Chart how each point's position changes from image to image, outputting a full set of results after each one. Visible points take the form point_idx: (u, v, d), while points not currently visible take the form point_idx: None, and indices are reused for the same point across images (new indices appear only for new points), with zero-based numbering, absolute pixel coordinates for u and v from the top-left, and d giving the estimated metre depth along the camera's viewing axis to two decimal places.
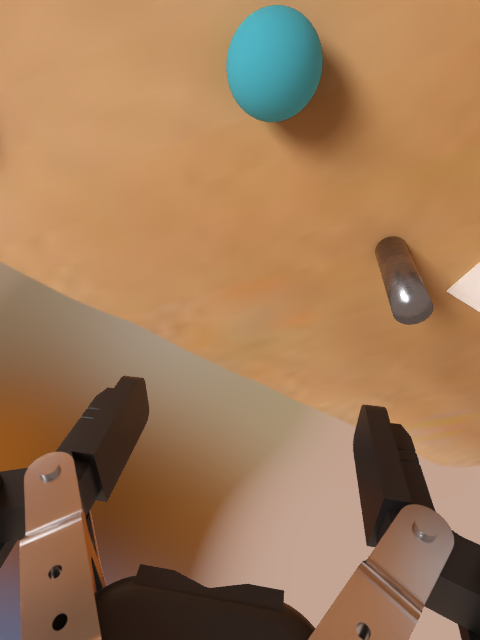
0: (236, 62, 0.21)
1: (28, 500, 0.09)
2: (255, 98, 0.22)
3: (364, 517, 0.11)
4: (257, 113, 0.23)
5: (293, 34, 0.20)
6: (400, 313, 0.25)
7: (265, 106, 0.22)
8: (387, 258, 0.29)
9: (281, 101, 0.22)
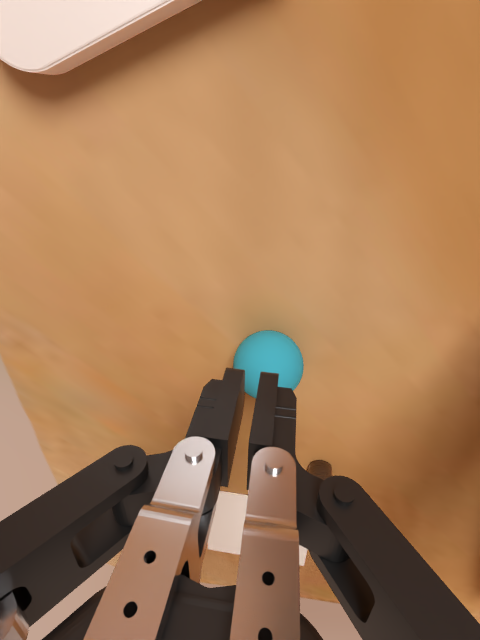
0: (259, 360, 0.28)
1: (167, 471, 0.10)
2: (245, 381, 0.29)
3: None
4: None
5: (290, 386, 0.29)
6: None
7: None
8: None
9: (253, 395, 0.30)
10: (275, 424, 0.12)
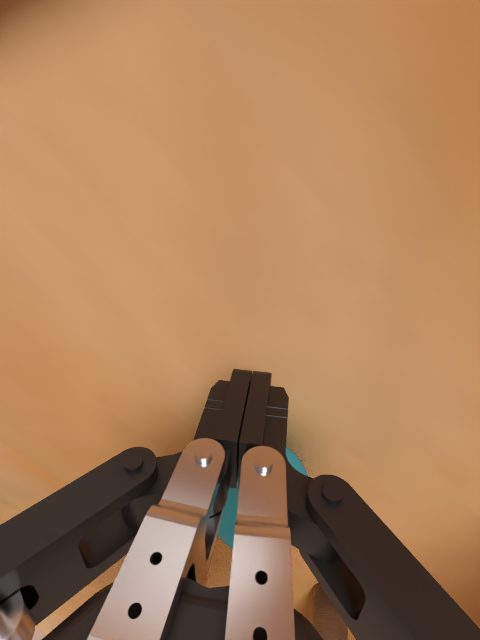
0: None
1: (176, 472, 0.10)
2: (219, 530, 0.18)
3: None
4: None
5: None
6: None
7: None
8: None
9: (231, 547, 0.19)
10: (266, 423, 0.12)
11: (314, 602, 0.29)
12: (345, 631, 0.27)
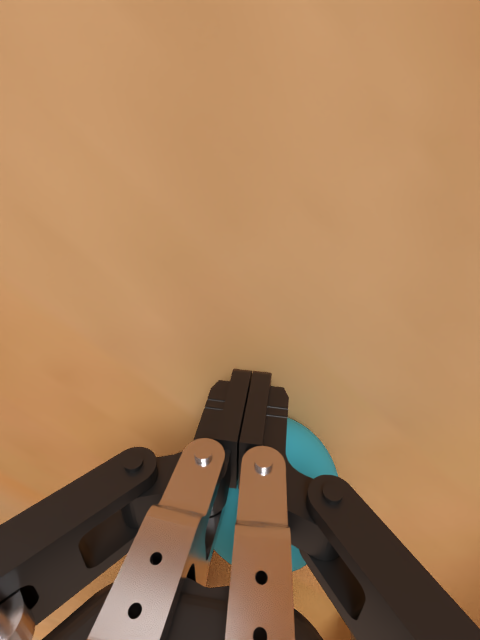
0: None
1: (176, 472, 0.10)
2: (215, 544, 0.13)
3: None
4: None
5: None
6: None
7: (215, 550, 0.14)
8: None
9: None
10: (266, 423, 0.12)
11: None
12: None
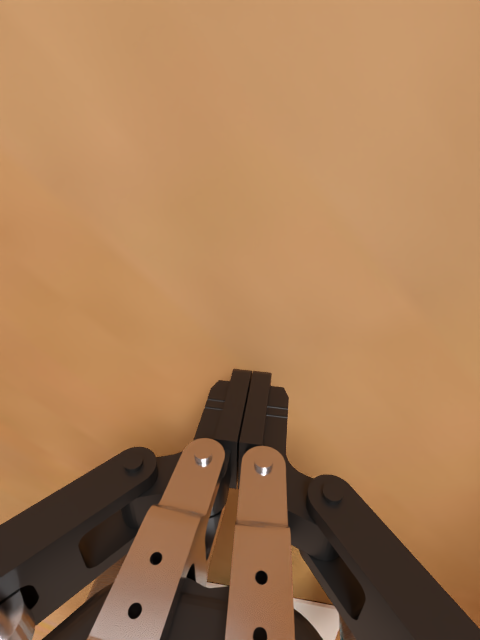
0: None
1: (176, 472, 0.10)
2: None
3: None
4: None
5: None
6: None
7: None
8: None
9: None
10: (266, 423, 0.12)
11: None
12: None
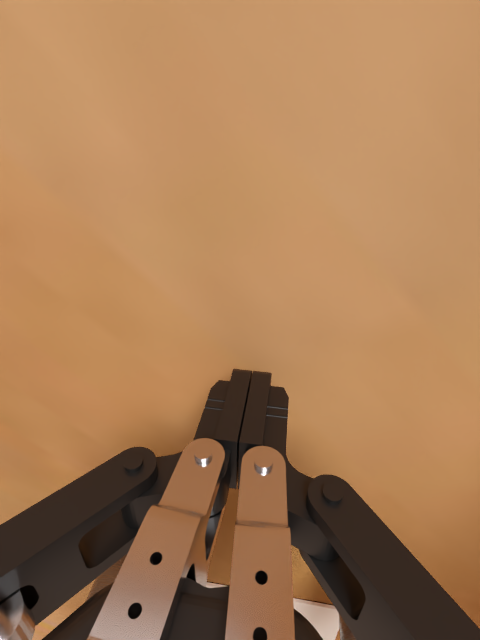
0: None
1: (176, 472, 0.10)
2: None
3: None
4: None
5: None
6: None
7: None
8: None
9: None
10: (266, 423, 0.12)
11: None
12: None
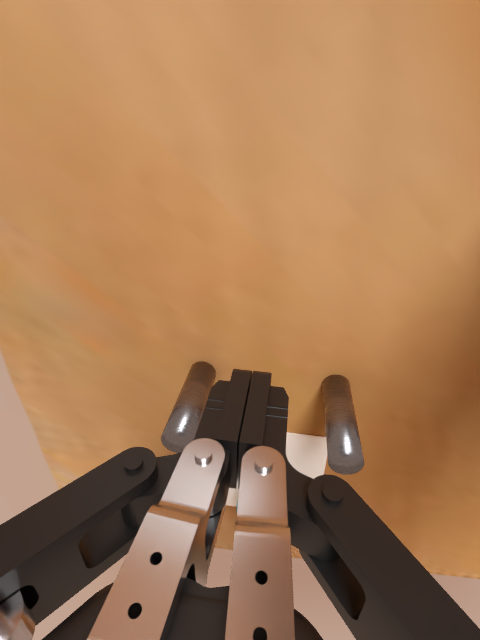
0: None
1: (176, 471, 0.10)
2: None
3: None
4: None
5: None
6: (168, 436, 0.28)
7: None
8: (197, 383, 0.33)
9: None
10: (266, 423, 0.12)
11: (323, 389, 0.34)
12: (351, 400, 0.32)
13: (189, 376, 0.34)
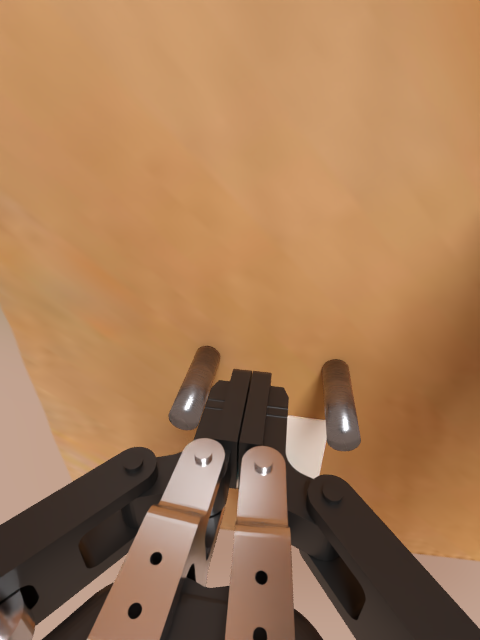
0: None
1: (176, 472, 0.10)
2: None
3: None
4: None
5: None
6: (175, 414, 0.30)
7: None
8: (202, 366, 0.34)
9: None
10: (266, 423, 0.12)
11: (323, 373, 0.35)
12: (349, 382, 0.33)
13: (195, 359, 0.36)
